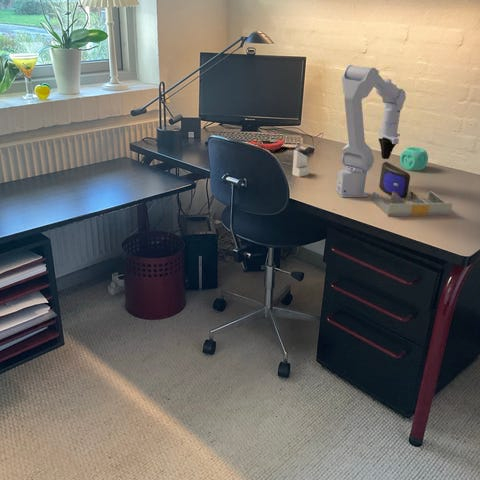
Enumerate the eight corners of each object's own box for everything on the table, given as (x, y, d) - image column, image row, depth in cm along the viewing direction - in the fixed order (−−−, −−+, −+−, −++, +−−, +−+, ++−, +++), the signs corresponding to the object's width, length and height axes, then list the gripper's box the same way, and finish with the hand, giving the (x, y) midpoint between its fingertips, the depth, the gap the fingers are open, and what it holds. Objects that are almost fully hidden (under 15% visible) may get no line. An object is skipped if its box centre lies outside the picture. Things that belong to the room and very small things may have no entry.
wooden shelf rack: (388, 216, 171) (389, 204, 169) (372, 200, 184) (373, 189, 183) (450, 215, 173) (452, 203, 172) (430, 199, 187) (432, 188, 185)
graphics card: (269, 158, 231) (269, 149, 229) (207, 147, 245) (207, 138, 243) (288, 148, 246) (288, 140, 245) (228, 138, 260) (229, 130, 259)
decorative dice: (411, 164, 226) (414, 146, 223) (426, 169, 220) (429, 150, 217) (398, 167, 222) (401, 148, 219) (413, 172, 216) (416, 152, 213)
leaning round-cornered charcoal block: (372, 185, 199) (375, 161, 195) (383, 185, 200) (386, 160, 196) (396, 200, 185) (400, 174, 181) (407, 199, 186) (412, 173, 182)
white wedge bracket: (284, 170, 205) (294, 149, 205) (299, 178, 212) (308, 158, 212) (291, 172, 203) (300, 151, 202) (306, 181, 210) (315, 160, 209)
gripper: (409, 126, 187) (403, 163, 193) (393, 117, 200) (388, 153, 206) (389, 126, 186) (384, 163, 192) (375, 117, 199) (370, 153, 205)
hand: (385, 158), depth 199 cm, fingers closed
